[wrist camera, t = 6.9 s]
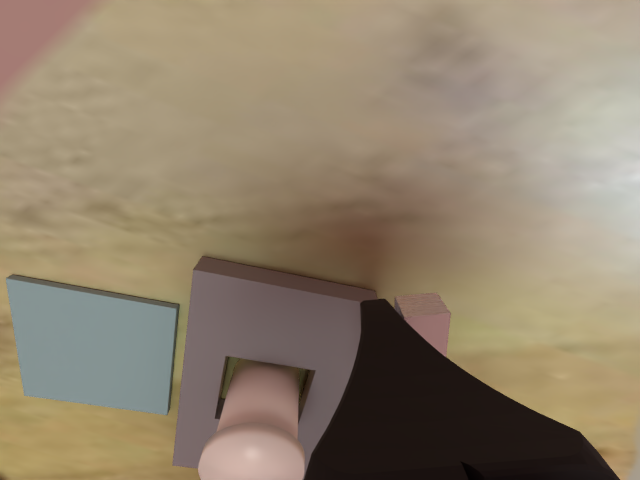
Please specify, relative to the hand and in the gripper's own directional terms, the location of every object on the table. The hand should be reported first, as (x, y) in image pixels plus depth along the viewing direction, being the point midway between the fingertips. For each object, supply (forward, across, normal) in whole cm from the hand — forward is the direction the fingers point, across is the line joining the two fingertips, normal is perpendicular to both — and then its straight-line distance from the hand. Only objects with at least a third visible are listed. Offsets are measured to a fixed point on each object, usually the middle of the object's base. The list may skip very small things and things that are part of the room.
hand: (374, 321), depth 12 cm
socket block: (+6, +6, +9) cm, 13 cm away
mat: (+6, +16, +6) cm, 18 cm away
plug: (+6, +6, +9) cm, 13 cm away
